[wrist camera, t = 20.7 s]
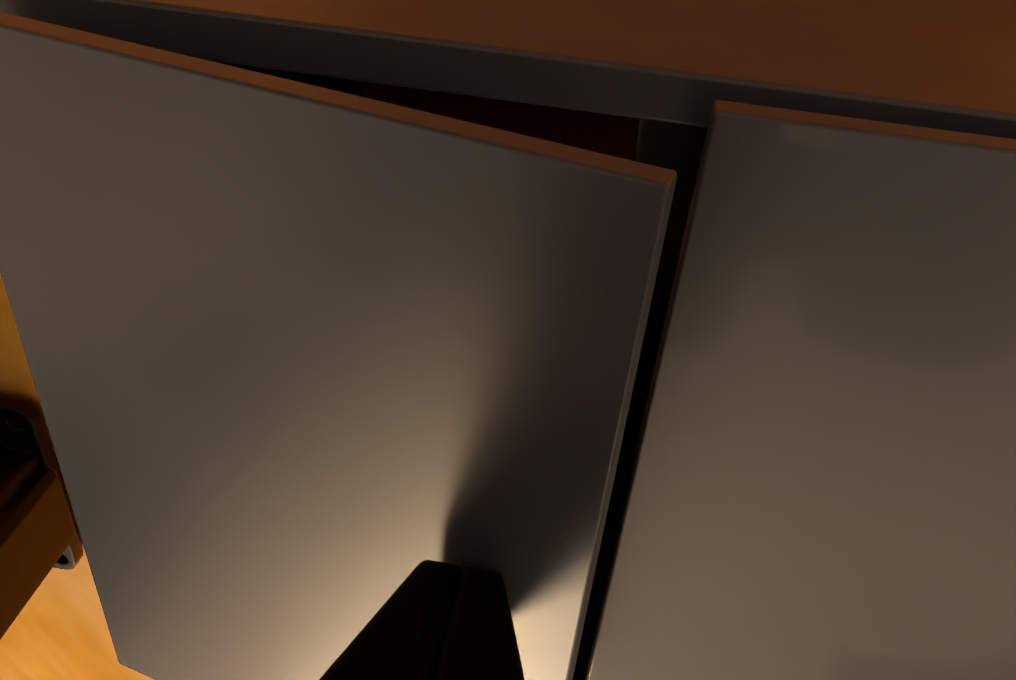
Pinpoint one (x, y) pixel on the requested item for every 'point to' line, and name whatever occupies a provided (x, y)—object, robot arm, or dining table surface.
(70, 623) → the dining table surface
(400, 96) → the block
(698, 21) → the carton
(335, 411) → the flap
